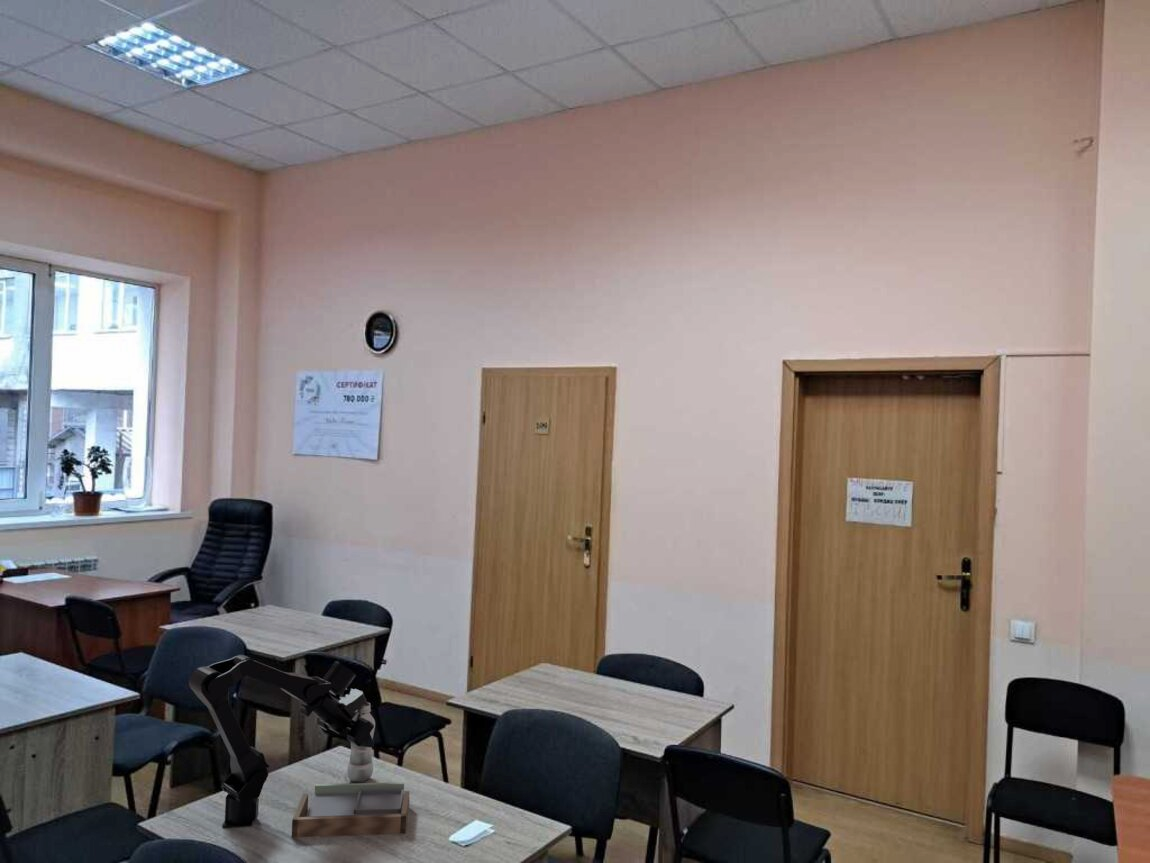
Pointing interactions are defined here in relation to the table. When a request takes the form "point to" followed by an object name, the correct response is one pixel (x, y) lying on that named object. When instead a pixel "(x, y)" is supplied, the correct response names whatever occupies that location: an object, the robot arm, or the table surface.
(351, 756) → the plastic bottle
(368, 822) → the dock
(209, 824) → the table surface
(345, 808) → the tray
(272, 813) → the table surface
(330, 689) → the robot arm
